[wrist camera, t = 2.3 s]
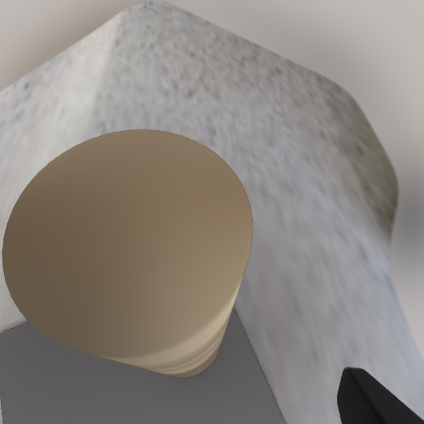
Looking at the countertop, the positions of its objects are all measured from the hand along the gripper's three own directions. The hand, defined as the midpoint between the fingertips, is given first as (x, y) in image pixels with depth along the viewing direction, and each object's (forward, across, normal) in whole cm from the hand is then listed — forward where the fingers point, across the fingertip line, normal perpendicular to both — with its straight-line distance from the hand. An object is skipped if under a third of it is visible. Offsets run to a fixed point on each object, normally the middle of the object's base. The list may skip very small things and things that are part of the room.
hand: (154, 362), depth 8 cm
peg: (+8, 0, +5) cm, 9 cm away
